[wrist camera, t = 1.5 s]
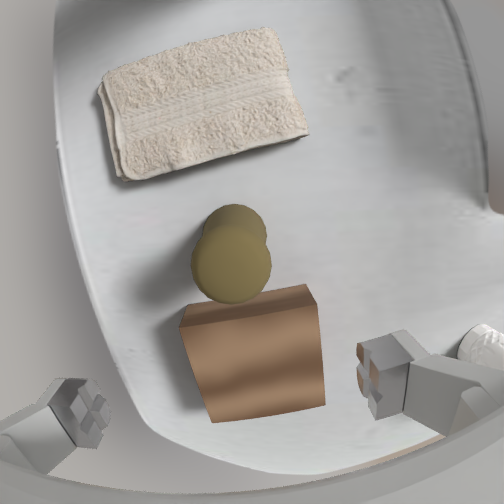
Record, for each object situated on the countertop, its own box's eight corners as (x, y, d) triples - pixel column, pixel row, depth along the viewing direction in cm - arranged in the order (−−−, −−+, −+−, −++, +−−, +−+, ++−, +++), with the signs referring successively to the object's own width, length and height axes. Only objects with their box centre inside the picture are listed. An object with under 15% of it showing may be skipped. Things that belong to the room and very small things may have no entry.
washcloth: (102, 83, 25) (89, 76, 22) (273, 30, 25) (276, 17, 22) (127, 190, 28) (115, 192, 25) (307, 138, 27) (314, 134, 24)
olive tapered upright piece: (203, 267, 30) (183, 317, 19) (201, 204, 28) (177, 222, 18) (266, 267, 30) (278, 318, 19) (267, 204, 28) (282, 222, 18)
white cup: (446, 370, 35) (482, 411, 25) (464, 320, 33) (510, 356, 23) (480, 364, 35) (516, 399, 25) (498, 318, 33) (540, 348, 23)
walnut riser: (187, 304, 31) (178, 327, 26) (305, 284, 30) (317, 304, 26) (215, 394, 34) (212, 423, 29) (316, 377, 33) (325, 405, 29)
